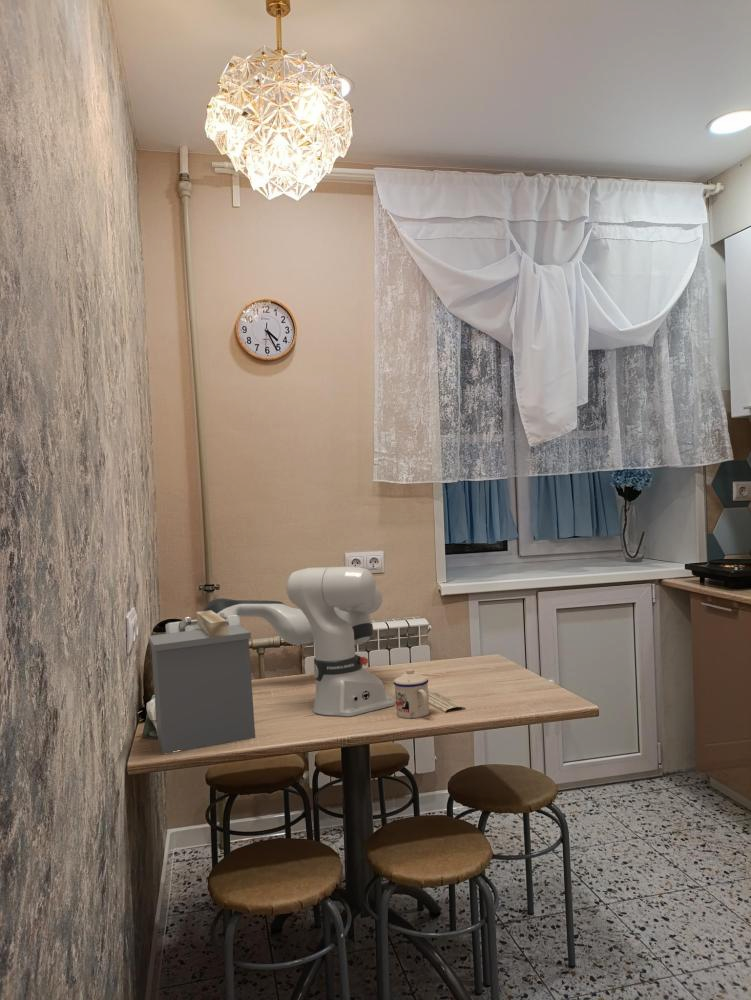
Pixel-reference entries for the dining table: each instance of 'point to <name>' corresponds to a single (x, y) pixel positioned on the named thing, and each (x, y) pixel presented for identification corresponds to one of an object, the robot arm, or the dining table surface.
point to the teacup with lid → (411, 695)
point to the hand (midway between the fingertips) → (206, 617)
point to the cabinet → (202, 688)
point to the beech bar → (212, 623)
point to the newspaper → (441, 701)
